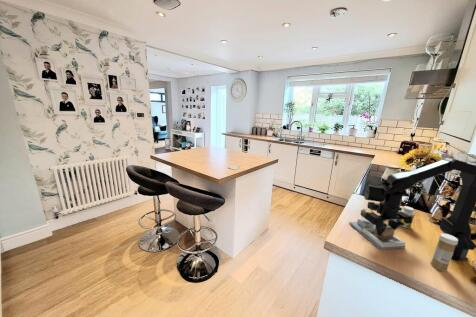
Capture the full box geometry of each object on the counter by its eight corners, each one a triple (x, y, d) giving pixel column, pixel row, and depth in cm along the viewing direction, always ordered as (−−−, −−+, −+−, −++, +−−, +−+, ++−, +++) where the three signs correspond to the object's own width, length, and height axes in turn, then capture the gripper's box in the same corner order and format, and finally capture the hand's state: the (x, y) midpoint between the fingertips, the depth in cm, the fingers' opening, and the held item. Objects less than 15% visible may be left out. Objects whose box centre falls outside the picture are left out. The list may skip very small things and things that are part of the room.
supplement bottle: (408, 229, 96) (413, 211, 94) (395, 224, 101) (400, 206, 98) (412, 226, 99) (417, 209, 97) (399, 221, 104) (403, 204, 101)
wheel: (377, 219, 92) (378, 214, 92) (366, 219, 92) (367, 215, 91) (367, 212, 98) (368, 208, 98) (357, 213, 97) (358, 208, 97)
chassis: (404, 248, 82) (407, 240, 82) (380, 249, 81) (382, 242, 80) (369, 223, 101) (371, 216, 100) (349, 224, 99) (350, 217, 98)
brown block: (392, 239, 84) (395, 228, 83) (383, 240, 84) (386, 228, 82) (382, 232, 89) (385, 221, 88) (373, 233, 88) (376, 222, 87)
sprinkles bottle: (445, 266, 73) (457, 236, 70) (447, 273, 70) (460, 242, 66) (429, 260, 76) (439, 231, 73) (430, 267, 73) (441, 236, 69)
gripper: (393, 194, 91) (385, 223, 95) (358, 195, 89) (352, 225, 92) (417, 206, 81) (407, 237, 85) (378, 207, 78) (370, 240, 82)
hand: (383, 234), depth 86 cm, fingers closed on brown block, 4 cm apart
